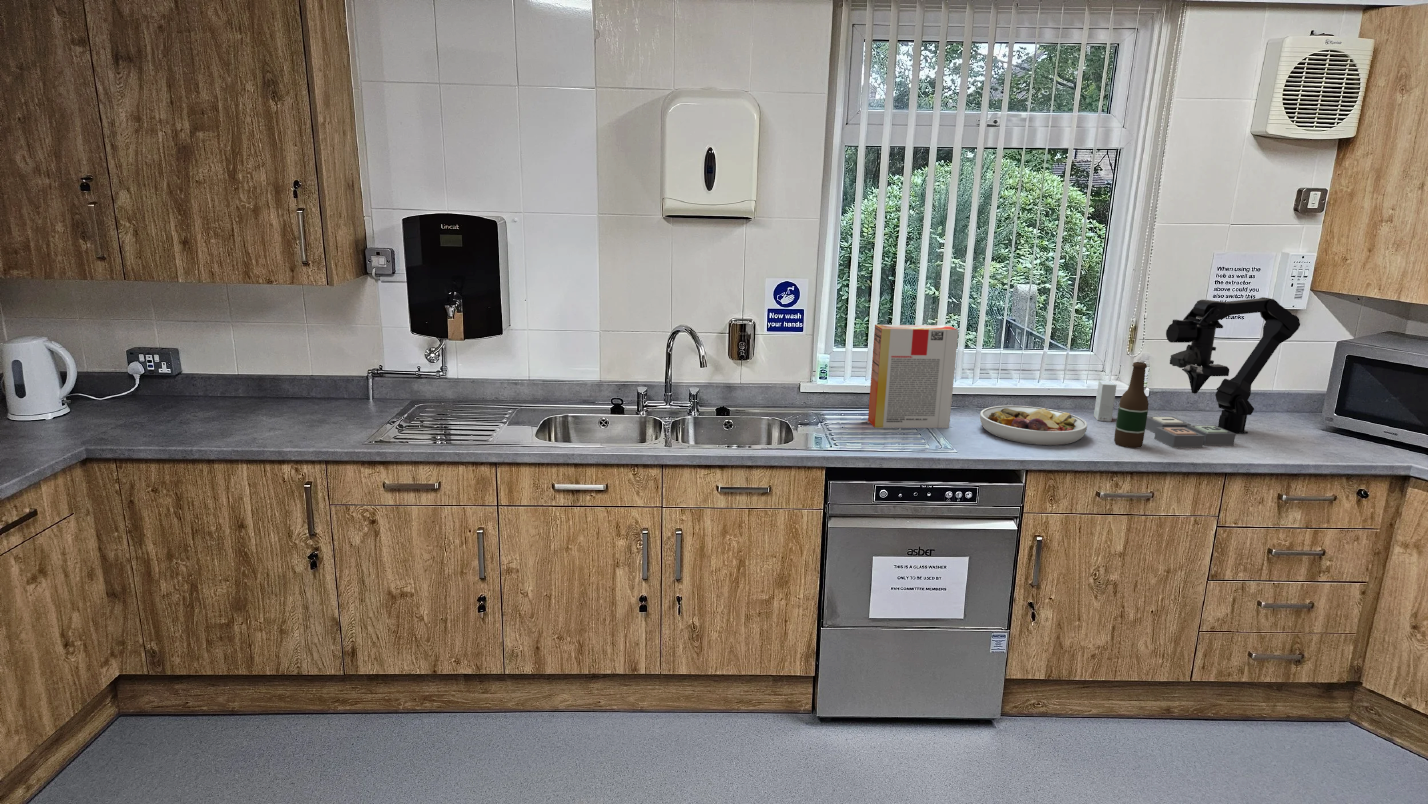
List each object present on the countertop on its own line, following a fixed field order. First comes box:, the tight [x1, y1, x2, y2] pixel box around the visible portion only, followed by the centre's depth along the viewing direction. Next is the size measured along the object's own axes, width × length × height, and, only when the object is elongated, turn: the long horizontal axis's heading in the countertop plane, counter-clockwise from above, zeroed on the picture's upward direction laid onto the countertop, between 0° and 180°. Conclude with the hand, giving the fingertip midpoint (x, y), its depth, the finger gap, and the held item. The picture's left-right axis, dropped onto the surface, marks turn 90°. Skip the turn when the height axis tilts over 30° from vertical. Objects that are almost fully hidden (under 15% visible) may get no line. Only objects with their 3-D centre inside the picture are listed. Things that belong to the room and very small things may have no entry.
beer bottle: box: [1113, 361, 1149, 449], centre depth 243 cm, size 8×8×24 cm
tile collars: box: [1145, 416, 1237, 449], centre depth 254 cm, size 20×21×4 cm
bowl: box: [979, 405, 1088, 446], centre depth 255 cm, size 30×30×8 cm
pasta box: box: [867, 324, 959, 429], centre depth 258 cm, size 23×8×30 cm, turn 94°
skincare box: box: [1093, 380, 1117, 422], centre depth 272 cm, size 6×4×12 cm
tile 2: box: [1195, 426, 1228, 433], centre depth 251 cm, size 6×6×3 cm
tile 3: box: [1164, 428, 1196, 435], centre depth 248 cm, size 6×6×3 cm
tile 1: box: [1152, 416, 1183, 424], centre depth 260 cm, size 6×6×3 cm
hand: (1194, 393), depth 259 cm, fingers closed
